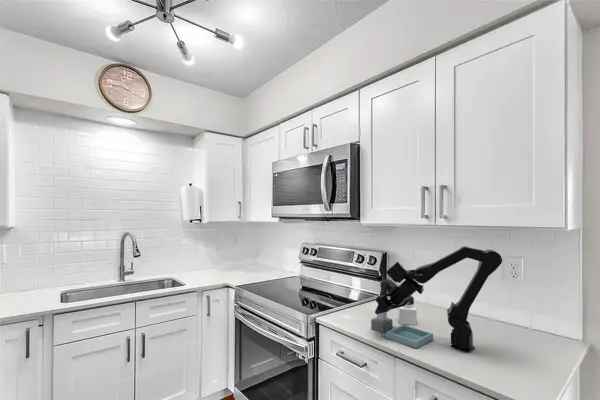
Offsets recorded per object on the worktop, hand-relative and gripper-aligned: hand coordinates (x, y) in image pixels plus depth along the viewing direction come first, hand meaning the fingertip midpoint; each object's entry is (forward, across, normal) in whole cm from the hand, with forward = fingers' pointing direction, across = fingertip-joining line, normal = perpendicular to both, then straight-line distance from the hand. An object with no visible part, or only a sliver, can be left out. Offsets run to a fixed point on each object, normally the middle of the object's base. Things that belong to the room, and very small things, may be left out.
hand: (381, 311), depth 132 cm
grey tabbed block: (+6, 0, +6) cm, 8 cm away
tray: (-4, 0, +15) cm, 15 cm away
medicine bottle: (+4, -17, +7) cm, 19 cm away
